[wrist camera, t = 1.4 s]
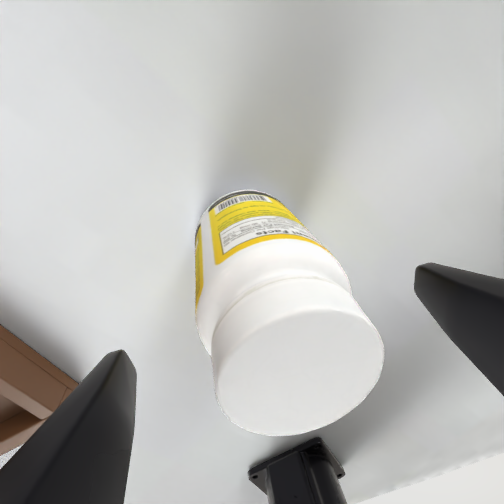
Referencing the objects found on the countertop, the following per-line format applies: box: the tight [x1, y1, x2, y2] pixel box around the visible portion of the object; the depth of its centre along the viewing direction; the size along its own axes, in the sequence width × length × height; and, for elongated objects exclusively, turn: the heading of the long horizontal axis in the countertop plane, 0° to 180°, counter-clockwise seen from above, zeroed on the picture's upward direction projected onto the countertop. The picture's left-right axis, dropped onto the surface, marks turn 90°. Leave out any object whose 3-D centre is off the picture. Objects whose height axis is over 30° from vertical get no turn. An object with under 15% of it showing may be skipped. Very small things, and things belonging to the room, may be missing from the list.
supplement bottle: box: [195, 190, 385, 436], centre depth 10 cm, size 5×5×8 cm
